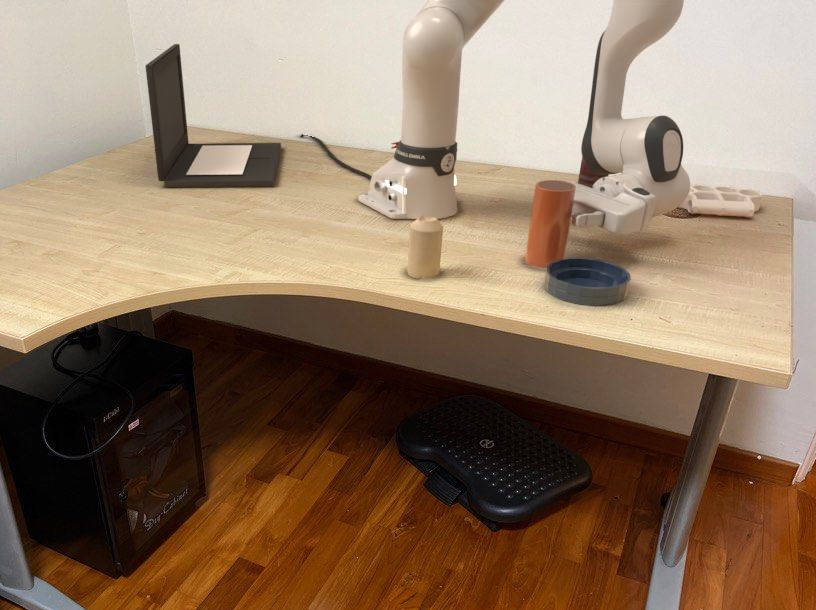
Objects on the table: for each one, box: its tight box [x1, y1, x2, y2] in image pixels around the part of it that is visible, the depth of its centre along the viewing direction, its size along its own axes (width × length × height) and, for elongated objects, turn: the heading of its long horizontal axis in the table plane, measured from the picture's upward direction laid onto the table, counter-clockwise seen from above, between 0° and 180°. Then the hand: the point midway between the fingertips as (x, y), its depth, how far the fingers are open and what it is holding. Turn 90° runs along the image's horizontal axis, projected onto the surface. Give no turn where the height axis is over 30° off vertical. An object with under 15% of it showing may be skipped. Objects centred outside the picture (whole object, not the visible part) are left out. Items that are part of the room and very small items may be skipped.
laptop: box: [145, 43, 282, 188], centre depth 187 cm, size 37×27×27 cm
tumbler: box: [524, 179, 576, 269], centre depth 132 cm, size 7×7×14 cm
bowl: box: [543, 257, 632, 307], centre depth 124 cm, size 13×13×3 cm
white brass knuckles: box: [677, 183, 764, 219], centre depth 160 cm, size 3×18×15 cm
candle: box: [406, 215, 444, 280], centre depth 129 cm, size 6×6×10 cm
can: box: [577, 156, 609, 188], centre depth 168 cm, size 6×6×14 cm
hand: (555, 212), depth 131 cm, fingers open, 8 cm apart
